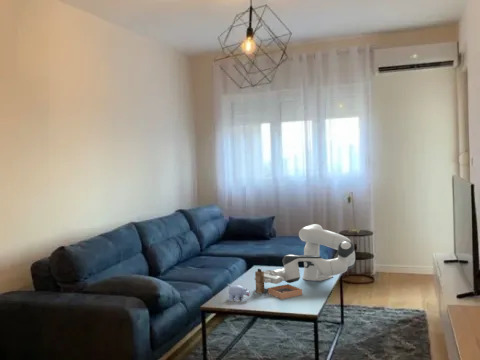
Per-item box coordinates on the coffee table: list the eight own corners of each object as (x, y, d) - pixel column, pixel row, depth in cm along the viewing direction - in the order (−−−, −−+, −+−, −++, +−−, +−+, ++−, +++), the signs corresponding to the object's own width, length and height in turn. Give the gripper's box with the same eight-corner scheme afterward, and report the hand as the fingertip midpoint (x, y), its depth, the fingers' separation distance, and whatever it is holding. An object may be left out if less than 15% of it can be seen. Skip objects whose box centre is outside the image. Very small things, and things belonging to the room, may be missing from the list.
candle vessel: (288, 289, 325) (288, 284, 325) (302, 294, 311) (302, 289, 311) (268, 293, 317) (267, 288, 317) (281, 299, 303) (281, 293, 303)
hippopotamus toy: (245, 302, 298) (245, 287, 298) (224, 300, 305) (223, 285, 305) (253, 298, 308) (252, 283, 308) (232, 295, 315) (231, 281, 314)
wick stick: (260, 291, 323) (259, 268, 322) (264, 292, 320) (263, 269, 319) (256, 292, 321) (255, 269, 320) (259, 293, 318) (259, 270, 317)
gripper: (286, 283, 320) (270, 287, 312) (265, 278, 336) (250, 282, 327) (285, 274, 320) (270, 278, 311) (265, 269, 336) (250, 273, 327)
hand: (260, 280), depth 320 cm, fingers open, 8 cm apart
